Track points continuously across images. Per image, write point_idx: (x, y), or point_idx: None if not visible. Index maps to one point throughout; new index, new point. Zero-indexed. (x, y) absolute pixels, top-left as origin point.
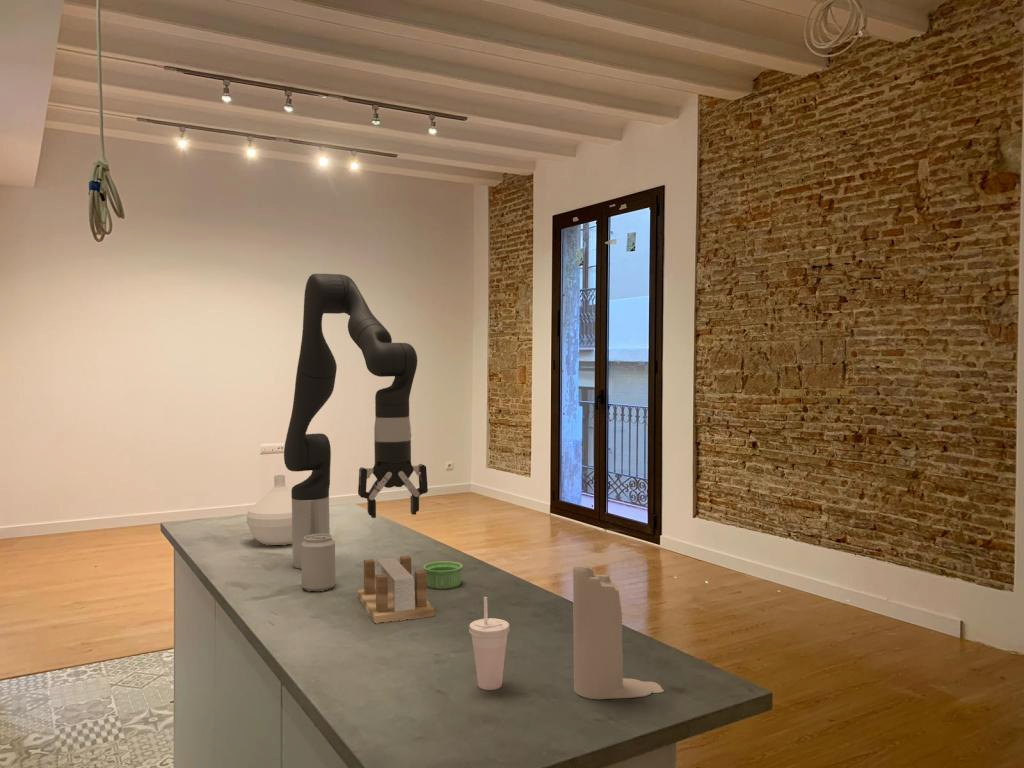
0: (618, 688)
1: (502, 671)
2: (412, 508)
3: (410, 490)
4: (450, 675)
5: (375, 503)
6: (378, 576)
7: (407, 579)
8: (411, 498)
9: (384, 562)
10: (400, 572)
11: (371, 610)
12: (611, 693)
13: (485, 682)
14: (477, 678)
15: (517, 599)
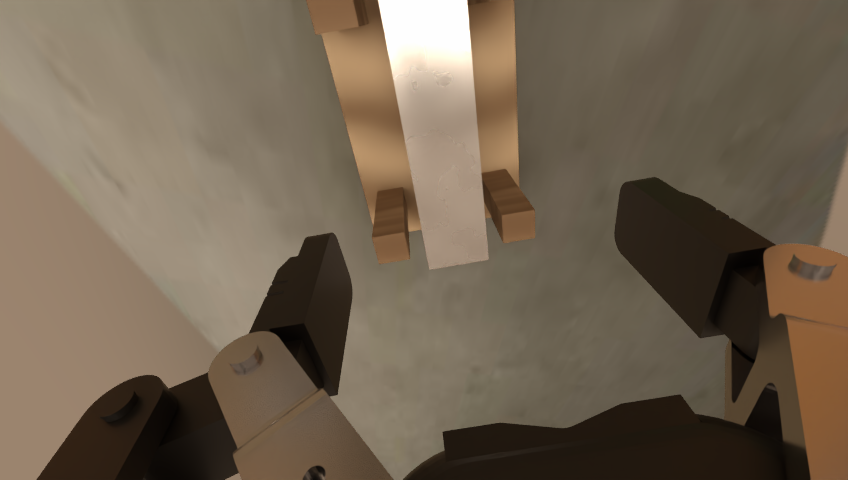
0: None
1: None
2: (640, 251)
3: (728, 412)
4: (478, 421)
5: (338, 372)
6: (381, 254)
7: (468, 261)
8: (701, 276)
9: (404, 12)
10: (456, 193)
11: (365, 195)
12: None
13: None
14: None
15: (761, 115)
